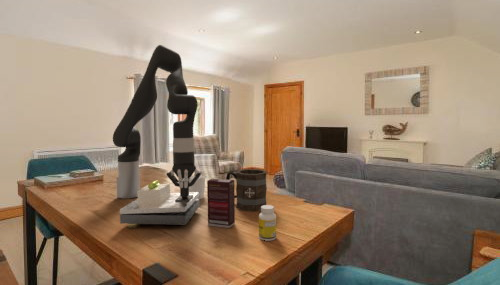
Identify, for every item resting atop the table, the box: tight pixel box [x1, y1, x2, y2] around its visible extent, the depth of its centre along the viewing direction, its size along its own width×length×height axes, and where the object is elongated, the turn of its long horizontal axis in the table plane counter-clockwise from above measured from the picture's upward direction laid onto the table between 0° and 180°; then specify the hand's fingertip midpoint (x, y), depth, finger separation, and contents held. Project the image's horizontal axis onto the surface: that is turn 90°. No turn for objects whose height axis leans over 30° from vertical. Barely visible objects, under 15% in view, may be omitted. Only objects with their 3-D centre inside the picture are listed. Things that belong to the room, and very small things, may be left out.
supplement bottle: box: [258, 204, 277, 242], centre depth 84 cm, size 5×5×10 cm
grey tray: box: [119, 199, 201, 229], centre depth 100 cm, size 22×20×5 cm
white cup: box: [189, 175, 206, 200], centre depth 130 cm, size 8×8×10 cm
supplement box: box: [206, 177, 236, 229], centre depth 95 cm, size 9×5×16 cm, turn 71°
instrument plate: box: [119, 179, 199, 215], centre depth 100 cm, size 22×20×8 cm
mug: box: [225, 168, 268, 212], centre depth 117 cm, size 20×14×15 cm
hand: (184, 197), depth 100 cm, fingers closed
